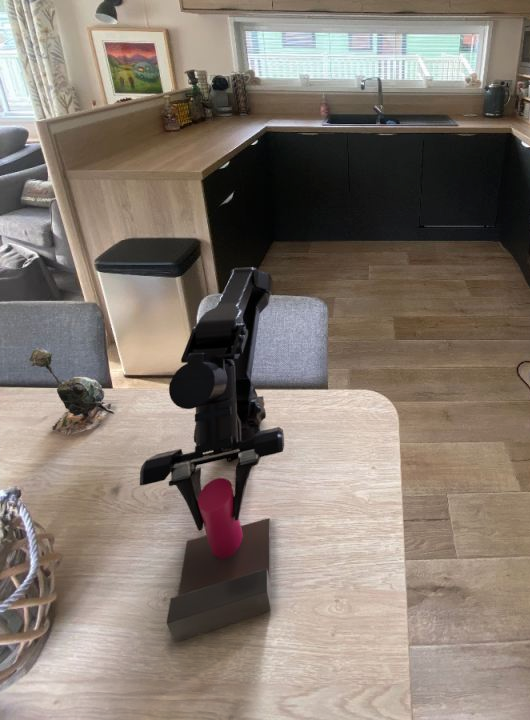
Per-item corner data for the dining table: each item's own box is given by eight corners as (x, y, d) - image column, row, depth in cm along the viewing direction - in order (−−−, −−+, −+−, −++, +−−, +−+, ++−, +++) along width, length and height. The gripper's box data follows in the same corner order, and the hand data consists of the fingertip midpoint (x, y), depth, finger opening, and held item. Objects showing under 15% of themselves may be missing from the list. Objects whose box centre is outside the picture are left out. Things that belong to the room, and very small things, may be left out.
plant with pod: (91, 445, 74) (58, 365, 66) (46, 431, 77) (9, 352, 69) (127, 409, 81) (101, 333, 73) (85, 397, 84) (55, 323, 76)
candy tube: (223, 519, 60) (212, 473, 56) (248, 528, 59) (238, 482, 55) (204, 552, 56) (190, 506, 52) (230, 563, 55) (218, 516, 51)
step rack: (189, 548, 59) (183, 528, 57) (270, 525, 62) (267, 505, 60) (174, 643, 50) (166, 623, 48) (271, 610, 53) (267, 591, 51)
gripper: (281, 387, 69) (289, 490, 63) (165, 410, 64) (163, 523, 59) (278, 389, 59) (287, 512, 53) (140, 417, 54) (135, 554, 49)
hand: (219, 524), depth 54 cm, fingers closed on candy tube, 4 cm apart
